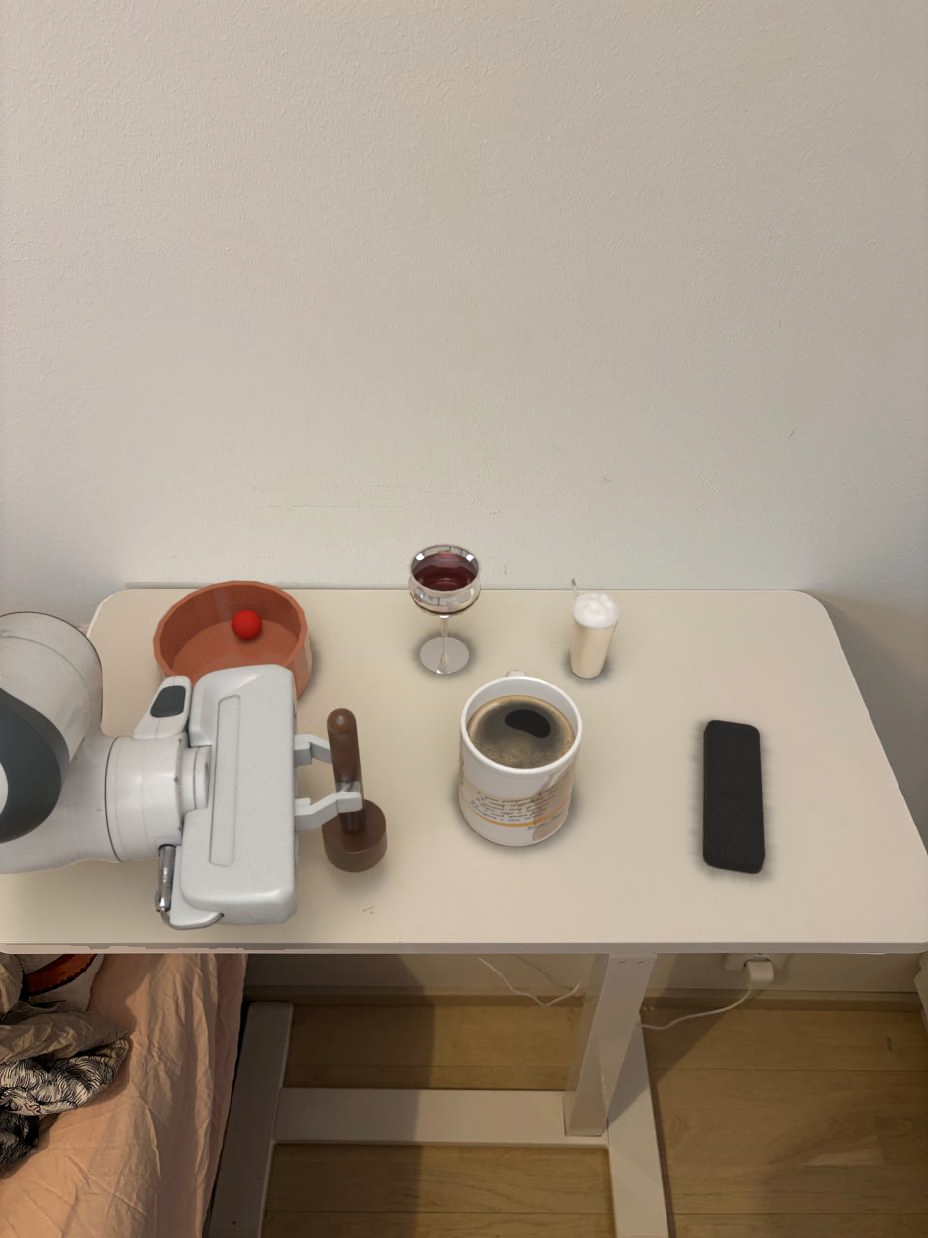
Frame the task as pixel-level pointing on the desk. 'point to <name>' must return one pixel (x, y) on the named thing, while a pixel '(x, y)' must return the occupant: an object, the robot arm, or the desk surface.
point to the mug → (518, 759)
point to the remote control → (733, 797)
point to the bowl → (207, 643)
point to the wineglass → (444, 598)
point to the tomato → (246, 624)
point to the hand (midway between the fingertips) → (360, 775)
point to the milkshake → (591, 631)
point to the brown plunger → (358, 833)
